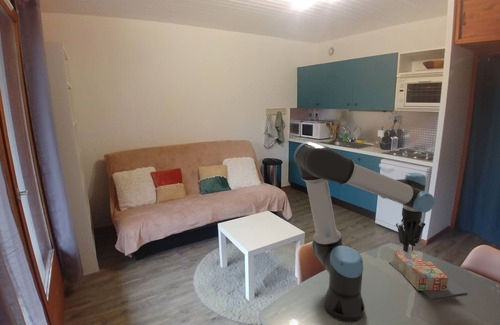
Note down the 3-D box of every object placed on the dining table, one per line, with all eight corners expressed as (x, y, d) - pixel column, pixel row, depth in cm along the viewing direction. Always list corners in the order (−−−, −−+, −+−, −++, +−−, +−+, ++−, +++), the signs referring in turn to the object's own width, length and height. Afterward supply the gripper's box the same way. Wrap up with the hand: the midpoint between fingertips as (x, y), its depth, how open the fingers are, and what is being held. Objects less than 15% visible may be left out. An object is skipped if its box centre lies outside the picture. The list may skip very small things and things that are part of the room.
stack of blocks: (393, 250, 134) (418, 250, 134) (392, 262, 135) (416, 262, 135) (419, 278, 113) (449, 277, 113) (418, 291, 114) (447, 290, 114)
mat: (430, 299, 110) (431, 297, 110) (388, 263, 135) (388, 262, 135) (466, 293, 113) (467, 292, 113) (419, 259, 138) (419, 258, 138)
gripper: (405, 213, 113) (399, 263, 118) (432, 210, 115) (426, 260, 120) (393, 206, 120) (388, 254, 125) (419, 204, 122) (413, 251, 127)
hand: (407, 257), depth 123 cm, fingers closed
